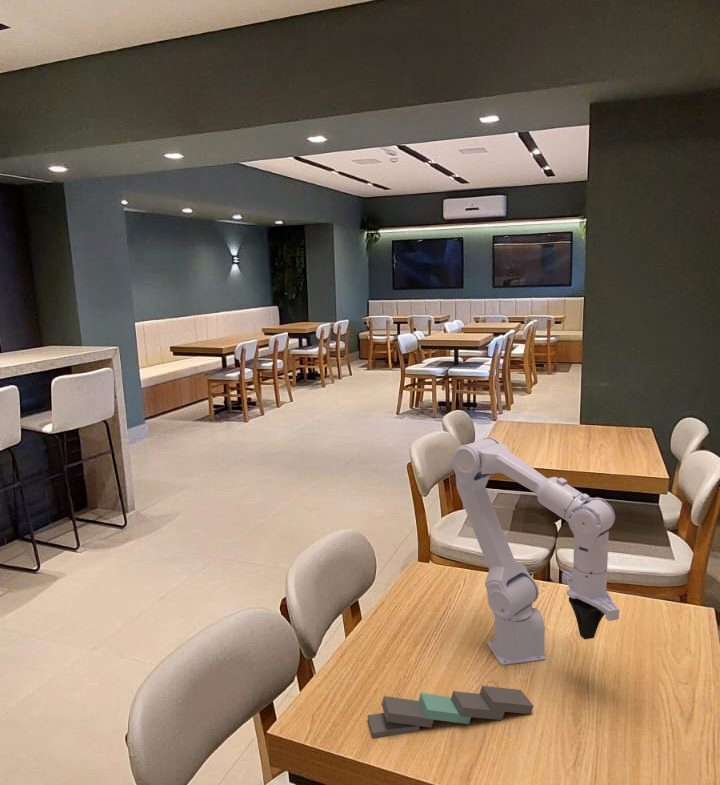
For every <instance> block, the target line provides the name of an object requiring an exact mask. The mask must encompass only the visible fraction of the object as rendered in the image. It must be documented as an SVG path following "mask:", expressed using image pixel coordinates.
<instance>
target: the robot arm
mask: <svg viewBox="0 0 720 785" xmlns="http://www.w3.org/2000/svg"><path fill="white" fill-rule="evenodd" d="M450 464H451V467H452V469H453V471H454V472H453V473H454V474H455V484H456V485H455V486H456V489H457V492H458V496H459V497H460V500H461V502H462V505H463V508H464V509H465V512H466V515H467V517H468V520H469V523H470V524H471V528H472V530H473V533H474V535H475V537H476V539H477V543H478V544H479V547H480V550H481V553H482V555H483V557H484V560H485V563H486V565H487V567H488V572H487V576H486V577H485V578H486V579H485V581H484V586H485V589H486V591H487V603H488V606H489V608H490V609H491V611H492V613H493V615H494V629H493V630H494V633H493V636H494V637H493V638H494V639H493V640H488V641H487V642H486V644H487V645H488V647H489V648H490V650H491V651H492V653H493V655H494V656H495V658H496V660H497V661H498V662H499V664H500V665H501V666H507V665H513V664H514V665H515V664H524V663H530V662H538V661H545V660H546V659H547V658H546V656H545V655H546V654H545V633H546V630H545V629H546V627H545V621H544V617H543V614H542V613H541V610H540V609H538V608H537V607H533V603H535V602H536V601H537V600H538V599H539V594H540V590H539V587H538V584H537V582H536V580H535V579H534V578H533V577H532V575H530V573H529V572H528V569H527V566H525V565H524V564H522V563H520V562H518V561H517V560H515V557H514V555H513V553H512V550H511V548H510V545H509V543H508V540H507V539H506V535H505V533H504V531H503V530H504V529H503V527H502V525H501V524H500V521H499V518H498V516H497V513H496V510H495V508H494V506H493V504H492V501H491V499H490V496H489V494H488V491H487V489H486V487H487V485H488V482H489V479H490V477H491V475H493V474H503V475H504V476H506V477H508V478H509V479H511V480H513V481H514V482H516V483H518V484H519V485H521V486H523V487H525V488H526V489H528V490H530V491H531V492H534V493H535V494H536V497H537V501H538V503H540V504H541V505H542V506H544V507H545V508H547V509H548V510H549V511H551V512H553V513H554V514H556V515H557V516H559V517H560V518H562V519H563V520H565V521H566V522H568V527H569V528H570V530H571V532H572V534H573V559H572V560H573V563H572V564H573V565H572V571H567V572H562V573H561V583H562V584H564V585H567V586H568V589H567V590H566V595H567V596H569V597H568V602H569V604H570V606H571V608H572V610H573V612H574V616H575V619H576V623H577V627H578V632H579V635H580V637H581V638H583V640H589V639H590V640H591V639H594V638H595V636H596V633H597V631H598V628H599V625H600V623H601V620H602V619H603V617H604V616H605V619H606V621H608V622H609V621H611V622H612V621H617V620H620V608H619V607H618V606H616V604H615V603H614V601H613V599H612V597H611V596H610V594H609V592H608V590H607V583H608V582H607V580H608V562H609V561H608V560H609V559H608V558H609V534H610V533H609V532H610V531H609V529H610V528H612V527H613V525H614V523H615V520H616V514H615V511H614V509H613V507H612V506H611V504H609V503H608V501H606V500H605V499H604V498H601V497H590V495H589V494H587V493H583V492H581V491H580V490H577V489H576V488H574V487H573V486H571V485H569V484H568V480H567V479H566V478H563V477H556V476H552V477H549V478H548V477H546V476H545V475H543V474H542V473H540V472H539V471H537V470H536V469H535V468H533V467H532V466H530V465H529V464H528V463H526V461H524V460H523V459H521V458H520V457H518V456H517V455H515V454H514V453H512V451H511V450H509V448H508V445H506V444H505V443H503V442H500V441H499V440H498V439H496V438H495V437H491V436H489V437H484V438H483V439H480V440H477V441H474V442H471V443H468V444H462V445H460V446H459V445H458V447H457V448H456V449H455V450H454V453H453V455H452V457H451V460H450Z"/></svg>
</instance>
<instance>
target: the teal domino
mask: <svg viewBox="0 0 720 785" xmlns="http://www.w3.org/2000/svg"><path fill="white" fill-rule="evenodd" d="M451 697H452V696H446V695H445V696H444V695H438V694H431V693H430V694H429V693H424V692H421V693H420V695H419V698H418V700H417V701H418V702H419V704H420V707H421V709H422V712H423V714H424V717H425V718H426V719H434V721H440V722H441V721H442V722H449V723H456V724H464V725H469V724H470V722H471V718H472V717H464V716H460V714H459V713H458V711H457V709H456V708H455V706H454V704H453V703H452V701H451Z"/></svg>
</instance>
